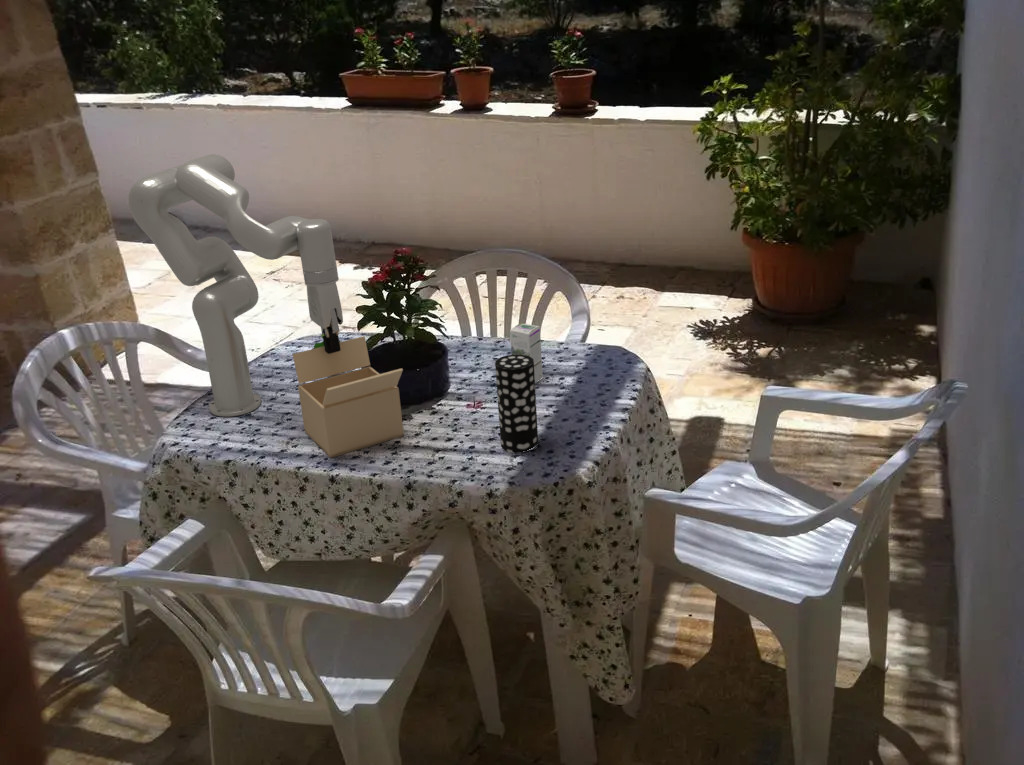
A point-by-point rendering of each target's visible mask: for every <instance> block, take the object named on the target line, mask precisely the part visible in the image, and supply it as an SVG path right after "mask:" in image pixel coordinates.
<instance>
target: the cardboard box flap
mask: <svg viewBox="0 0 1024 765" xmlns="http://www.w3.org/2000/svg"><path fill="white" fill-rule="evenodd" d="M403 371H404V369H403V367H402V368H398V369H393V370H390V371H387V372H382V373H379V375H375V376H371V377H368V378H364V379H360V380H357V381H353V382H349V383H346V384H342V385H338V386H334V387H331V388H327V390H326V393H325V397H324V401H323V404H322V405H323V406H327V405H330V404H334V403H337V402H341V401H345V400H348V399H352V398H355V397H359V396H363V395H366V394H370V393H373V392H377V391H381V390H384V389H388V388H391V387H395V386H396V387H398V384H399V381H400V379H401V377H402V373H403Z"/></svg>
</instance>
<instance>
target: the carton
mask: <svg viewBox="0 0 1024 765" xmlns="http://www.w3.org/2000/svg"><path fill="white" fill-rule="evenodd" d="M379 374H380V373H379V372H378V371H377V370H376V369H374V368H373V367H371V366H365V367H362V368H358V369H354V370H350V371H346V372H343V373H339V374H335V375H331V376H328V377H324V378H320V379H316V380H313V381H309V382H305V383H301V384H298V385H297V388H298V395H299V402H300V408H301V414H302V415H301V416H302V421H303V427H304V433H305V434H306V435H307V436H308V437H309V438H310V439H311V440H312V441H313V442H314V443H315V444H316V445H317V446H318V447H319V448H320V449H321V451H323V453H324V454H325V455H327V456H328V457H329V459H332V458H335V457H338V456H339V457H340V456H342V455H345V454H349V453H352V452H354V451H358V450H362V449H366V448H369V447H372V446H375V445H379V444H381V443H385V442H388V441H392V440H395V439H398V438H401V437H404V436H405V435H404V434H405V433H404V425H403V418H402V417H403V416H402V407H401V399H400V389H399V387H398V386H395V387H391V388H388V389H384V390H381V391H377V392H373V393H370V394H366V395H363V396H359V397H355V398H352V399H348V400H345V401H341V402H337V403H334V404H330V405H327V406H323V405H322V404H323V401H324V397H325V393H326V390H327V388H331V387H334V386H338V385H342V384H346V383H349V382H353V381H357V380H360V379H364V378H368V377H371V376H375V375H379Z"/></svg>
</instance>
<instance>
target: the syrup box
mask: <svg viewBox="0 0 1024 765" xmlns="http://www.w3.org/2000/svg"><path fill="white" fill-rule="evenodd" d="M509 338H510V352H511V354H510V355H514V354H520V355H527V356H530V357H531V358H533V360H534V374H535V382H537V381H538V380H540V379H541V378H542V377H543V378H544V375H543V373H544V372H543V361H542V360H543V359H542V357H543V356H542V343H541V342H542V341H541V340H542V339H541V338H542V336H541V326H540V325H536V324H535V325H533V324H528V323H521V322H520V323H519V324H516V325H515V326H514V327H512V328H511V329H510V330H509ZM540 381H541V380H540Z"/></svg>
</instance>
